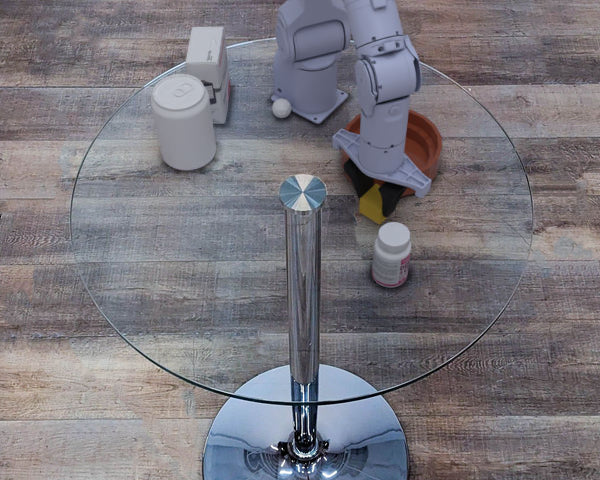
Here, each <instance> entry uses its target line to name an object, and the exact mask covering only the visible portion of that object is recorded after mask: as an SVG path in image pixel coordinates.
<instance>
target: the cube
mask: <svg viewBox="0 0 600 480" xmlns="http://www.w3.org/2000/svg"><path fill="white" fill-rule="evenodd" d="M379 187H380V186H379V185H378V184H375V185H374V186H373V187H372V188H371V189H370V190H369V191H368V192H366V193H365V194H364V195H363V196H362V197H361V198H360V201H359V204H358V205H359V206H358V213H360V214H361V215H363V216H365V217H366V218H368V219H369V220H371V221H373V222H374V223H376V224H378V225H381V224H382V223H383V222H384V221H385V220H387V218H386V217H384V216H383V214H382V197H381V194H380V192H379V191H378V188H379Z"/></svg>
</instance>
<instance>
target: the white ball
mask: <svg viewBox="0 0 600 480" xmlns="http://www.w3.org/2000/svg"><path fill="white" fill-rule="evenodd" d="M291 109H292V108H291V105H290V102H288V101H287V100H286V99H282V98H281V99H278V100H276V101H275V102H273V103H272V106H271V111H272V113H273V116H275V117H276V118H278V119H279V118H280V119H284V118H287V117H288V116H290V115H291V113H292V111H291Z"/></svg>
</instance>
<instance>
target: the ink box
mask: <svg viewBox="0 0 600 480" xmlns="http://www.w3.org/2000/svg"><path fill="white" fill-rule="evenodd" d="M225 32H226V31H225V27H224V26H193V27H192V28H191V31H190V37H189V41H188V46H187V47H188V48H187V50H186V51H187V52H186V57H185V62H184V64H185V71H186V74H187V75H191V76H194V77H196V78H198V79H199V80H200V81H201V82H202V83H203V85H204V87H205V88H206V89H207V91H208V94H209V100H210V107H211V114H212V121H213V125H215V124H216V125H217V124H218V125H224V124H226V121H227V116H228V110H229V102H230V101H229V100H230V94H231V79H230V70H229V61H228V51H227V41H226V33H225Z"/></svg>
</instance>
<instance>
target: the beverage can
mask: <svg viewBox="0 0 600 480" xmlns="http://www.w3.org/2000/svg"><path fill="white" fill-rule="evenodd" d="M150 106H151V111H152V117H153V120H154V126H155V130H156V135H157V139H158V144H159V145H158V146H159V149H160V154H161V158H162V160H163V161H164V163H165V164H167V165H168V166H169V167H171V168H173V169H175V170H179V171H194V170H198V169H201V168H202V167H205V166H207V165H208V164H209V163H211V161H212V160H213V159H214V157H215V155H216V152H217V145H216V143H217V142H216V135H215V129H214V124H213V121H212V114H211V107H210V100H209V94H208V91H207V89H206V88H205V87H204V85H203V83H202V82H201V81H200V80H199V79H198V78H196V77H194V76H191V75H187V73H176V74H171V75H168V76H166V77H164V78H162V79H161V80H159V81H158V82H157V83H156V84H155V85H154V87H153V89H152V93H151V96H150Z"/></svg>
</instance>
